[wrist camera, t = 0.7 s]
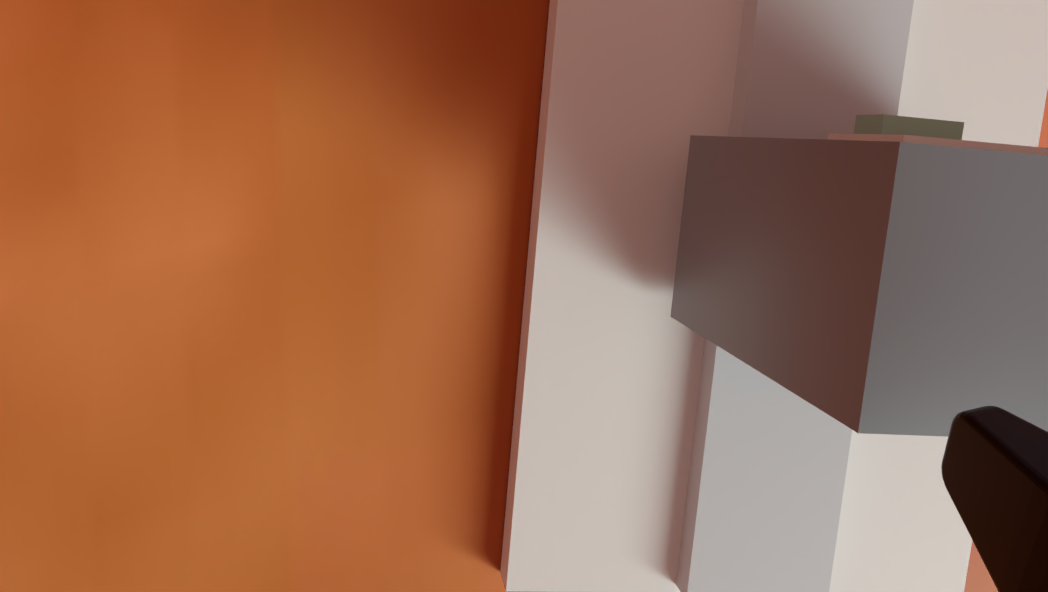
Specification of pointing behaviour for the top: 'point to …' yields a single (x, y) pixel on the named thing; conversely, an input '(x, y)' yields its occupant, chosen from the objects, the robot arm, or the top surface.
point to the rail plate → (685, 356)
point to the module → (874, 269)
